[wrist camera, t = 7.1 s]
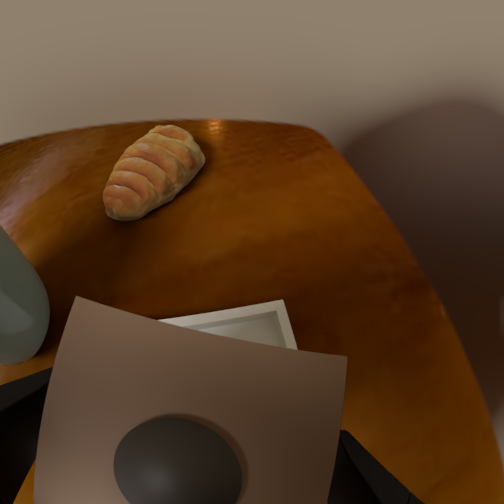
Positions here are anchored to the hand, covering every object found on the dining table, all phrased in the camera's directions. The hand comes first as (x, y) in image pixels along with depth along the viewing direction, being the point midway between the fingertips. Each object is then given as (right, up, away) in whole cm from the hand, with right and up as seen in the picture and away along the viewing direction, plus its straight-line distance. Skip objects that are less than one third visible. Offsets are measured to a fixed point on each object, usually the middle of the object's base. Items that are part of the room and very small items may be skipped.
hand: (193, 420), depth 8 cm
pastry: (-7, +11, +16) cm, 21 cm away
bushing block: (-1, -5, +7) cm, 8 cm away
